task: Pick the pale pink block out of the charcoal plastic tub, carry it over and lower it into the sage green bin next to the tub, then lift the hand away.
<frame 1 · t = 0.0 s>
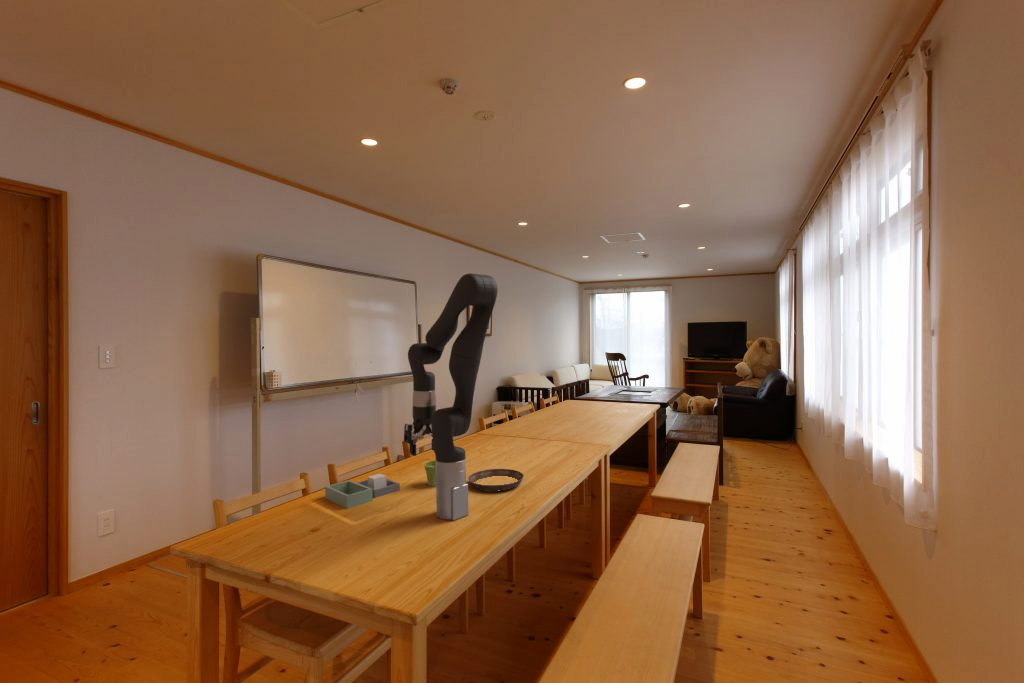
hand: (424, 452, 154), 17 cm above the table, tool pointing down, fingers open, 8 cm apart
sage green bin: (348, 502, 158), on the table
plant pot: (436, 487, 173), on the table
plant saucer: (496, 485, 175), on the table
pale pink block: (377, 490, 167), point 1 cm above the table, touching charcoal tub
charcoal tub: (377, 492, 167), on the table
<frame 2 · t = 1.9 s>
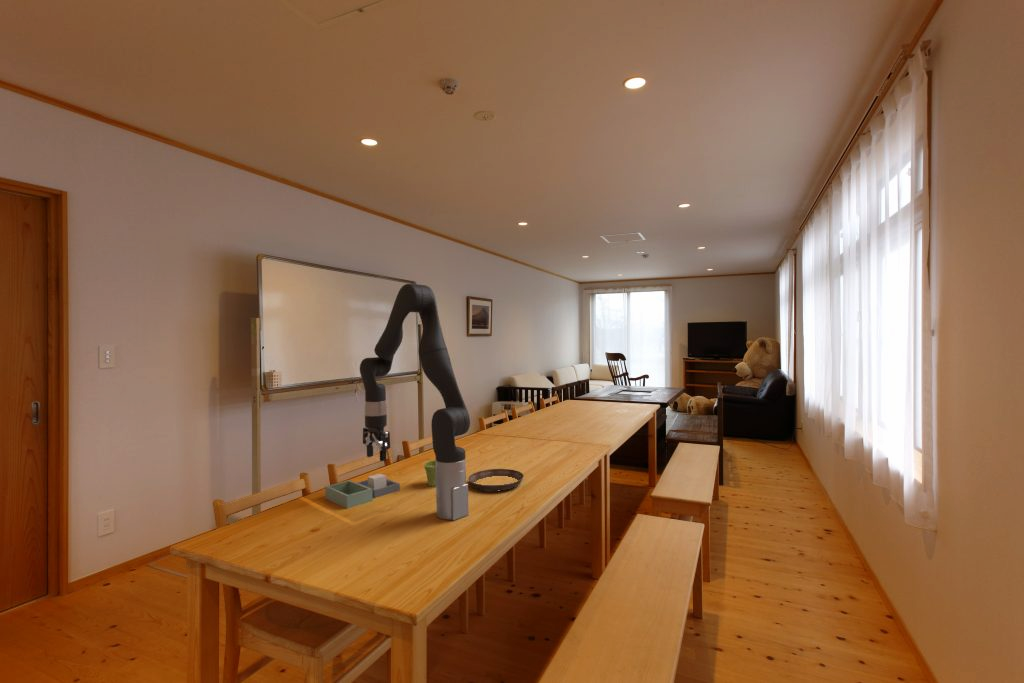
hand: (376, 458, 167), 12 cm above the table, tool pointing down, fingers open, 8 cm apart
nothing on the table moved.
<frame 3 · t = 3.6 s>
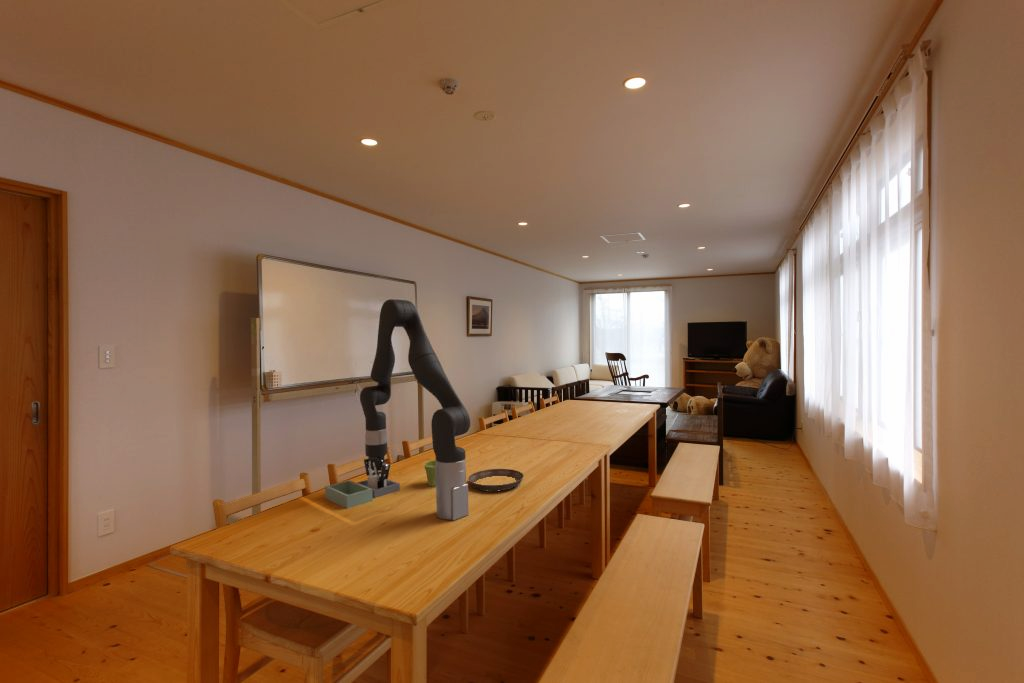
hand: (377, 489, 167), 1 cm above the table, tool pointing down, fingers closed on pale pink block, 4 cm apart
pale pink block: (377, 490, 167), point 1 cm above the table, touching charcoal tub, gripper
everything else where it was.
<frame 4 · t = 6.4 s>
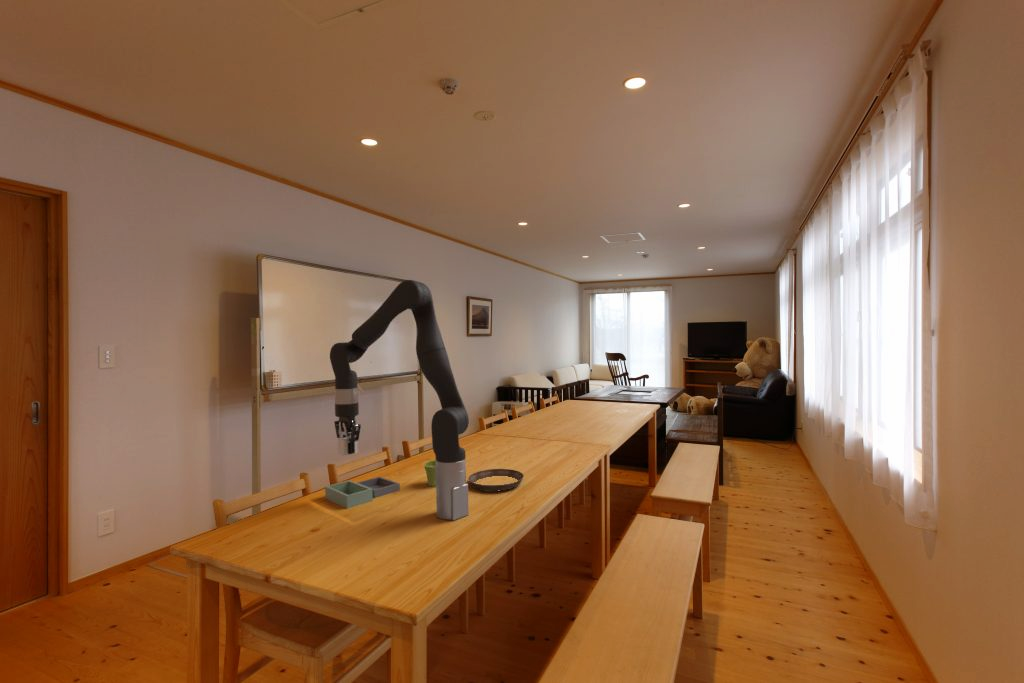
hand: (347, 452, 158), 17 cm above the table, tool pointing down, fingers closed on pale pink block, 4 cm apart
pale pink block: (347, 453, 158), point 17 cm above the table, touching gripper
everything else where it was.
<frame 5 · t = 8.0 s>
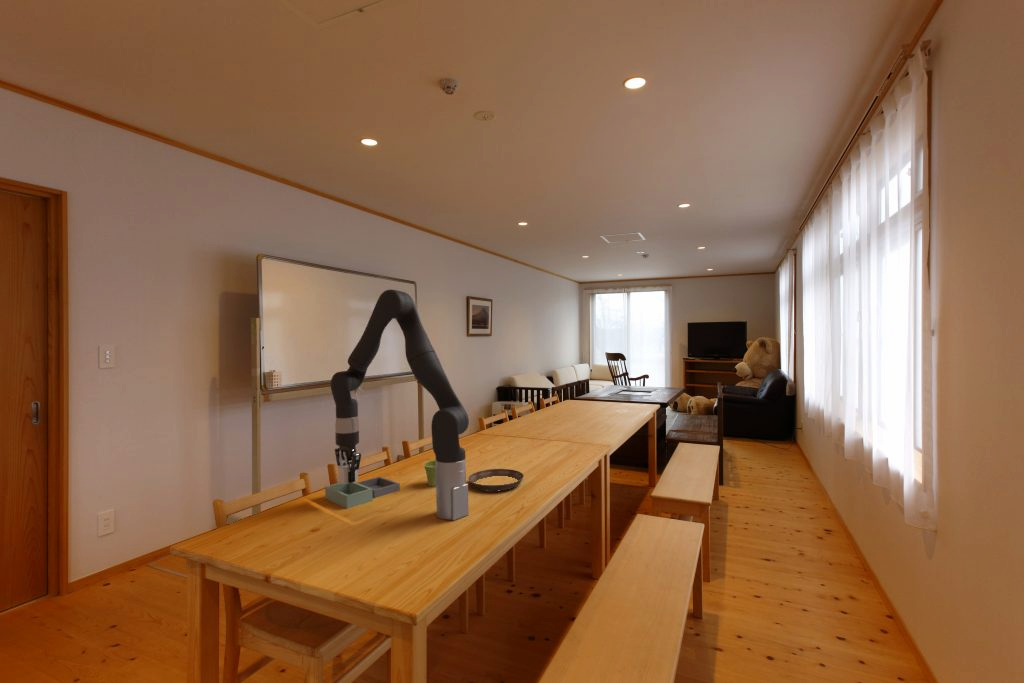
hand: (348, 480, 158), 7 cm above the table, tool pointing down, fingers closed on pale pink block, 4 cm apart
pale pink block: (348, 481, 158), point 7 cm above the table, touching gripper
everything else where it was.
when the fingers open (3 cm above the table, at t = 9.2 s): pale pink block drops 2 cm, resting on sage green bin.
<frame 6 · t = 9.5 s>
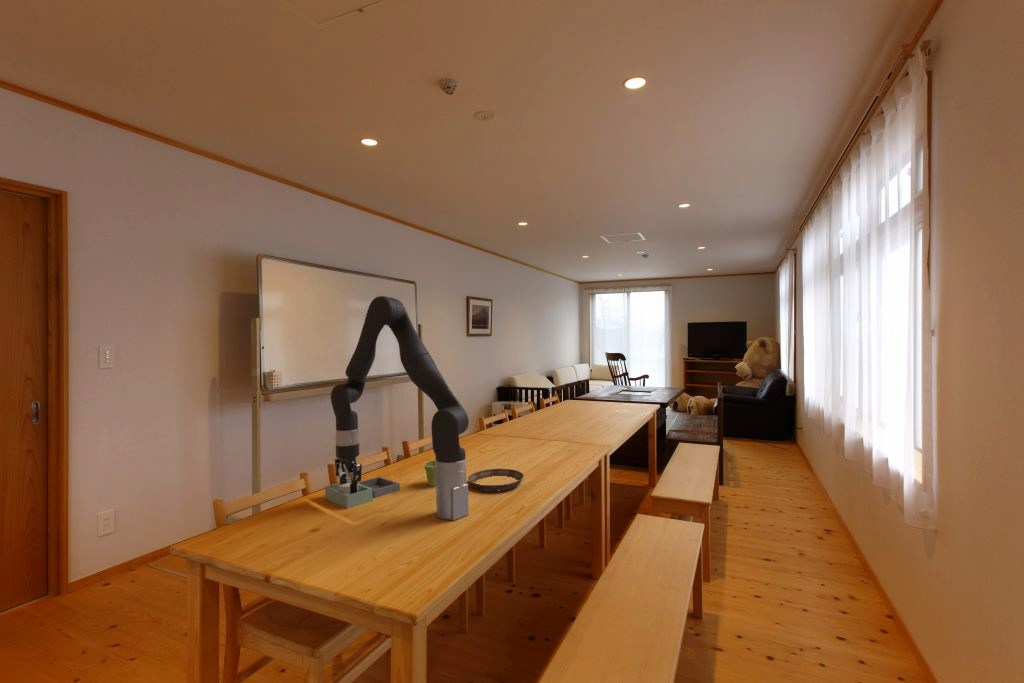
hand: (348, 491, 158), 4 cm above the table, tool pointing down, fingers open, 6 cm apart
pale pink block: (348, 499, 158), point 1 cm above the table, touching sage green bin
everything else where it was.
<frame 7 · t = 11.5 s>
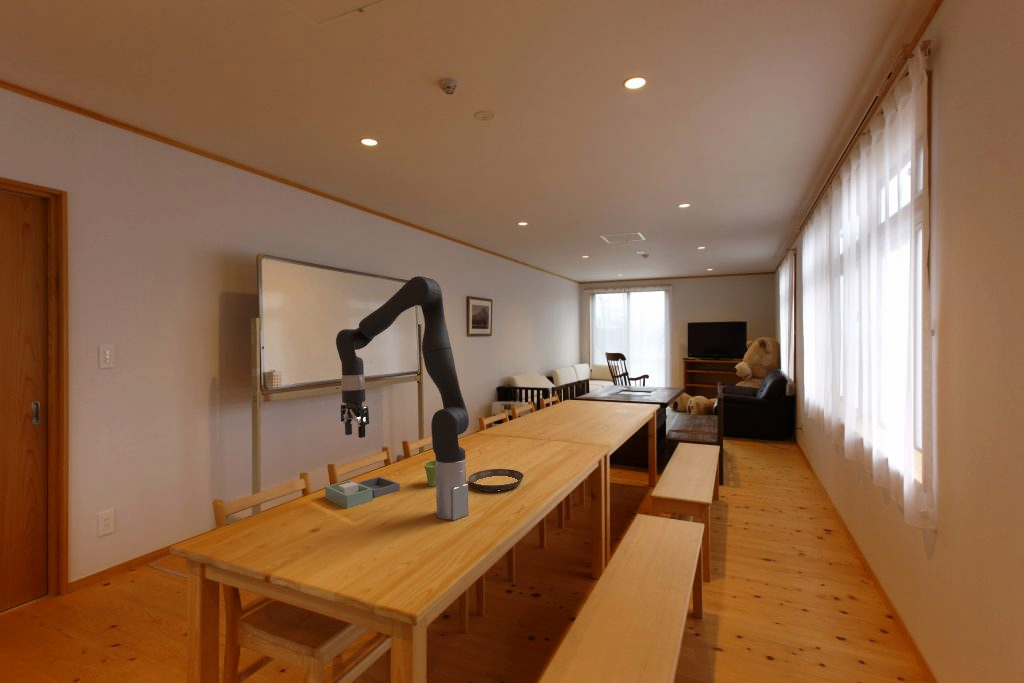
hand: (355, 436, 158), 22 cm above the table, tool pointing down, fingers open, 8 cm apart
nothing on the table moved.
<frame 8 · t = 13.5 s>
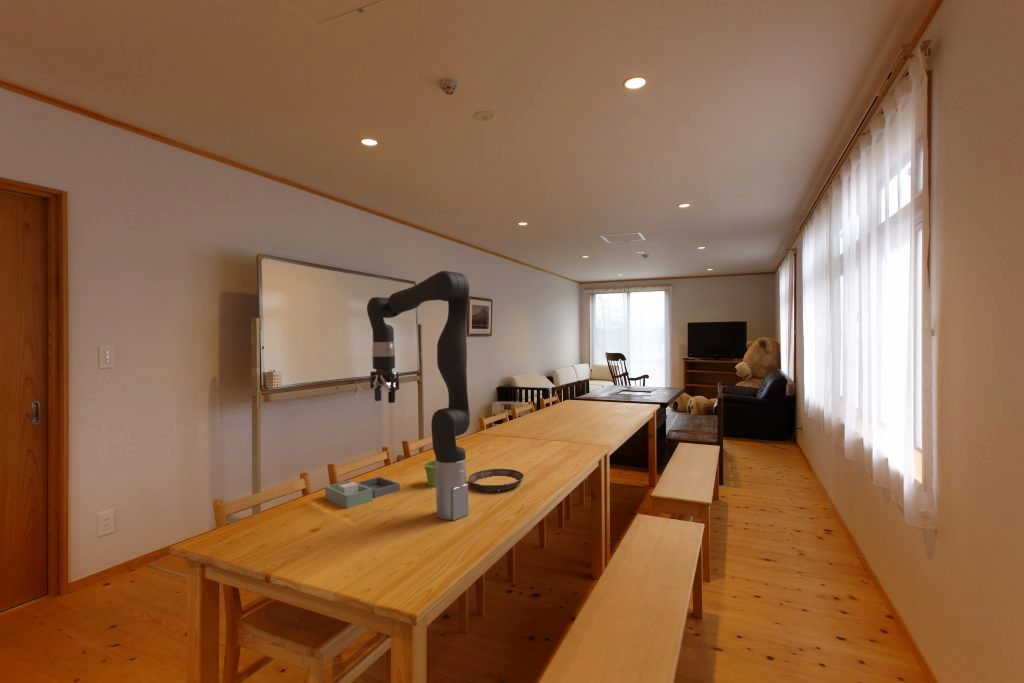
hand: (384, 401, 163), 33 cm above the table, tool pointing down, fingers open, 8 cm apart
nothing on the table moved.
at the end: pale pink block inside the target area on the sage green bin (0.0 cm from its centre), point 1.0 cm above the sage green bin's base; the gripper is holding nothing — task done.
